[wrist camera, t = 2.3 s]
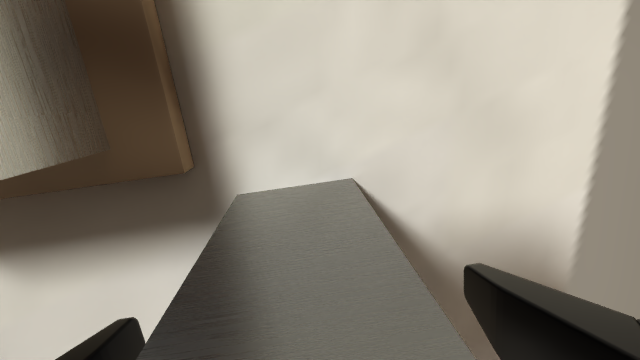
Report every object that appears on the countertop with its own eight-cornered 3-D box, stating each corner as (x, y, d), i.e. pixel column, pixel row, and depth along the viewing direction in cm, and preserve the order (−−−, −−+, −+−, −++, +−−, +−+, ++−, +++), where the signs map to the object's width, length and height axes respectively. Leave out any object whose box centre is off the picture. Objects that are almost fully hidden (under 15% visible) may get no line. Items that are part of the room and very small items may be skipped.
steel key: (362, 279, 13) (547, 785, 3) (258, 295, 13) (144, 874, 3) (352, 178, 12) (583, 516, 2) (236, 194, 12) (-32, 629, 2)
